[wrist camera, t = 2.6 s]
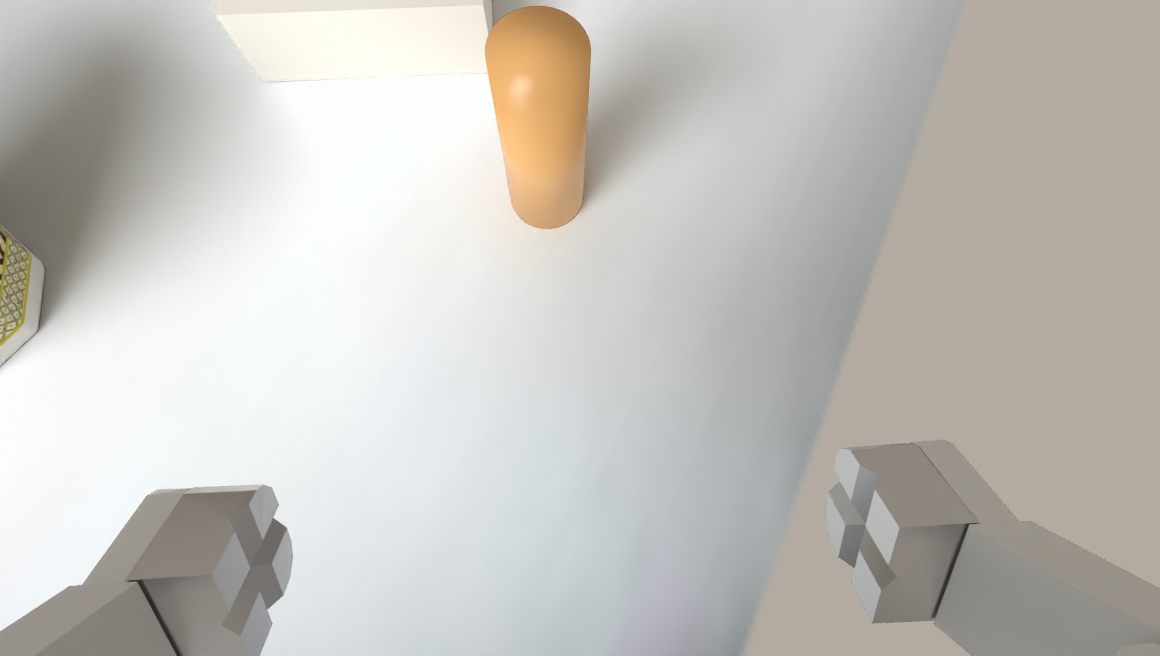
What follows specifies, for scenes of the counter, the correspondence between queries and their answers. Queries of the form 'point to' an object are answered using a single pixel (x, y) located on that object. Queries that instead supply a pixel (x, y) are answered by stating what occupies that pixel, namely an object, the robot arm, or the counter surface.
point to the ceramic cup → (18, 294)
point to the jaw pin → (541, 110)
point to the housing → (358, 37)
